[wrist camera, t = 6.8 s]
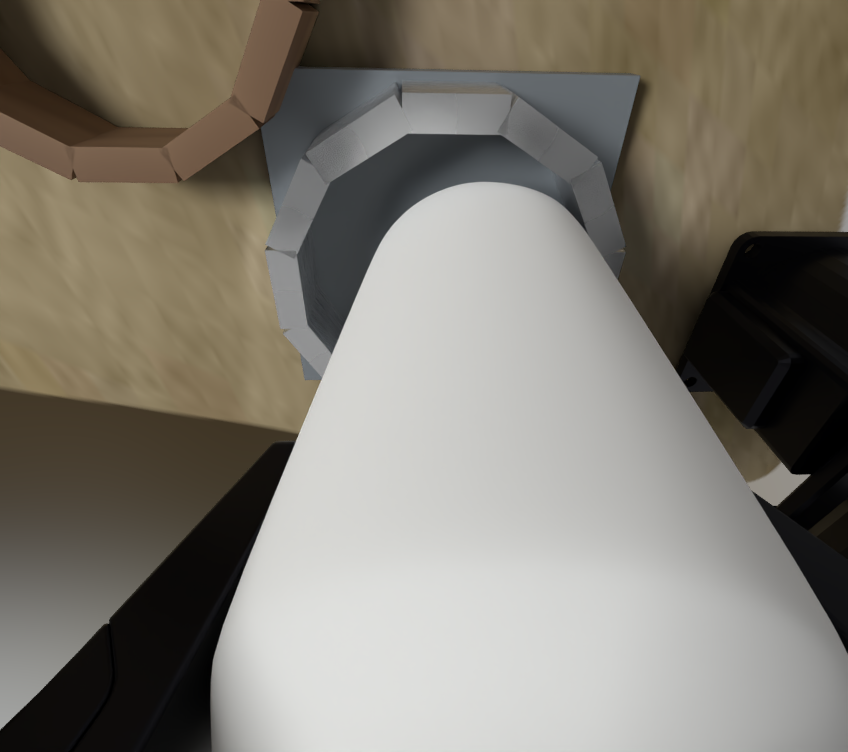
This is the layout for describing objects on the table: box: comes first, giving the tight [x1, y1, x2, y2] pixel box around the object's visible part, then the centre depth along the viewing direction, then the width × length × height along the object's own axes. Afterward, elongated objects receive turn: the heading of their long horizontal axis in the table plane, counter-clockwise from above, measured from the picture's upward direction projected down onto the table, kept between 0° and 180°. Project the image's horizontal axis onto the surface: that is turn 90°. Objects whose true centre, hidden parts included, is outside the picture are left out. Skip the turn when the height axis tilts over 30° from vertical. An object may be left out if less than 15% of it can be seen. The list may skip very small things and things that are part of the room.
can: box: [210, 182, 848, 752], centre depth 9 cm, size 6×6×12 cm
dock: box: [261, 66, 640, 380], centre depth 14 cm, size 10×10×3 cm
